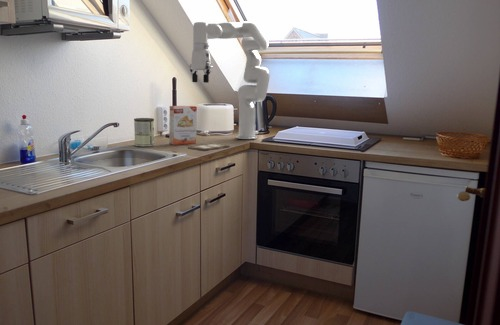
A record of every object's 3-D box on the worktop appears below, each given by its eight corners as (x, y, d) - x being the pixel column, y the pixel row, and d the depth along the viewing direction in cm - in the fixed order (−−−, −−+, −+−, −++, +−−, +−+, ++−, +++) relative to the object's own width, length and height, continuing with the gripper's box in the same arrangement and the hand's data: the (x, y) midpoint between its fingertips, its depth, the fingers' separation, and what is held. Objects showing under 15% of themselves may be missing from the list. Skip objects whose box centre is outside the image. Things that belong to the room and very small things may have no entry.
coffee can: (133, 144, 242) (132, 117, 239) (152, 143, 246) (152, 117, 243) (136, 146, 233) (135, 119, 230) (156, 146, 237) (155, 119, 234)
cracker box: (173, 145, 241) (173, 106, 237) (169, 144, 246) (168, 105, 242) (196, 143, 249) (197, 106, 245) (191, 142, 254) (191, 105, 250)
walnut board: (212, 144, 247) (212, 143, 247) (229, 147, 240) (229, 145, 239) (187, 148, 232) (188, 146, 232) (205, 150, 225) (205, 149, 224)
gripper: (218, 47, 228) (217, 82, 231) (194, 48, 239) (193, 82, 242) (207, 46, 222) (207, 82, 225) (183, 47, 233) (183, 81, 236)
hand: (200, 82), depth 234 cm, fingers open, 7 cm apart
